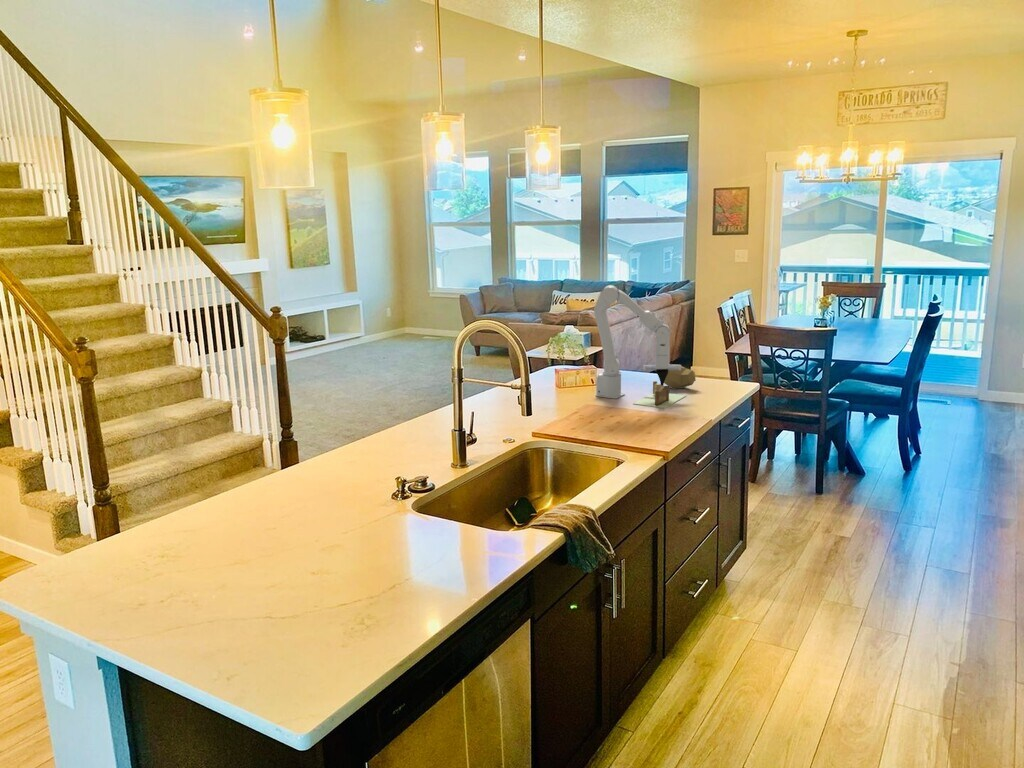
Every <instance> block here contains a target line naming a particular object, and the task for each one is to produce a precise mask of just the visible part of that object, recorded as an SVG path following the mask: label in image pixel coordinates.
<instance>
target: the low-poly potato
mask: <svg viewBox="0 0 1024 768" xmlns="http://www.w3.org/2000/svg"><path fill="white" fill-rule="evenodd" d="M673 365H679V364H673ZM696 380H697V379H696V372H695V371H694V370H692V369H690V368H686V367H684V366H682V365H681V370H680V371H679V370H668V374H667V376H666V378H665V381H664V385H665V386H669V388H671V389H673V390H675V389H683V388H686V387H690V386H693V384H694V383H695V382H696Z"/></svg>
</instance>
